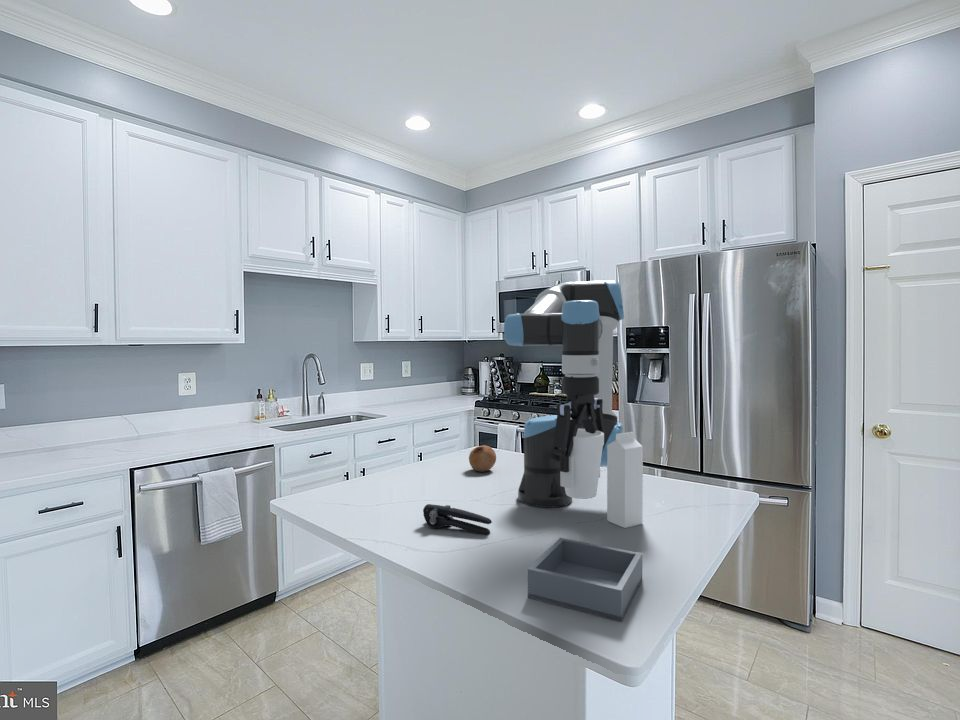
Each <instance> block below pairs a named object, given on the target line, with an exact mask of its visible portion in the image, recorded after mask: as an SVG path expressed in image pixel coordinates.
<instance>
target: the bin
mask: <svg viewBox="0 0 960 720" xmlns="http://www.w3.org/2000/svg"><path fill="white" fill-rule="evenodd" d="M642 581H643V553H642V552H636V551H633V550H632V551H631V550H626V549H622V548H618V547H617V548H616V547H611V546H605V545H601V544H594V543H592V542H591V543H589V542H584V541H578V540H575V539H568V538H564V537H563V538H562V537H559V538H558V539H557V540H556V541H555V542H554V543H553V544H552V545H551V546H550V547H549V548H548V549H547V550H546V551H545V552H544V553H543V554H541V555H540V556H539V558H538V559H536V560H535V561H534V562H533V563H532V564H531V565H530V566H529V567H528V568H527V598H528V599H531V600H536V601H539V602H543V603H546V604H547V603H548V604H551V605H556V606H558V607H561V608H566V609H570V610H572V611H573V610H574V611H578V612H582V613H585V614H588V615H589V614H590V615H593V616H597V617H600V618H604V619H605V618H606V619H609V620H612V621H616V622H621V623H622V621H623V619H624V617H625V615H626V613H627V611H628V610H629V607H630V605H631V603H632V601H633V600H634V597H635V596H636V593H638V590H639V588H640V586H641V583H642Z"/></svg>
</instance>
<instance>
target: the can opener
mask: <svg viewBox="0 0 960 720" xmlns="http://www.w3.org/2000/svg"><path fill="white" fill-rule="evenodd" d="M422 513H423V518H424V521H425V523H426V525H428V526H429V527H430V528H431V529H432V528H433V529H440V528H444V527H455V528H458V529H461V530H464V531H467V532H470V533H473V534H478V535H489V534H490V533H491V530H490V529H489V528H487V527H485V526H484V527H483V526H480V525H477V524H475V523H471V522H467V521H472V522H476V523H480V524H485V525H490V524H492V523H493V521H492V519H490V518H489V517H487V516H483V515H481V514H478V513H474V512H471V511H467V510H464V509H461V508H455V507H451V505H450V504H446V505H440V504H431V503H428V504H426V505H424V507H423V509H422ZM459 519H462V520H459ZM464 520H466V521H464Z"/></svg>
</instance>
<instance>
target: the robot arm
mask: <svg viewBox="0 0 960 720" xmlns="http://www.w3.org/2000/svg"><path fill="white" fill-rule="evenodd" d="M624 313H625V312H624V306H623V297H622V290H621V284H620V282H618V281H617V280H611V279H610V280H607V279H606V280H605V279H602V280H588V281H587V280H585V281H567V282H565V281H564V282H561V283H557V284H555V285H553V286H552V285H551V286H550V287H548V288H546V289H544V290H543V291H541V292H540V293H539V294H538V295H537V297H536V298H535V300H534V303H533V304H532V305H531V306H530V307H529V308H527V310H525V312H524V313H519V312H517V313H512V314H507V316H506V317H505V319H504V322H503V334H504V341H505V342H506V344H507V345H509V346H515V347H517V346H518V347H520V348H521V347H534V346H535V347H536V346H537V347H539V346H540V347H541V346H543V347H544V346H545V347H546V346H548V347H549V346H553V347H554V346H556V347H558V346H559V347H561V346H562V352H561V354H562V355H561V373H562V374H563V376H562V378H561V382H562V383H561V384H562V385H561V386H562V387H561V389H562V390H561V392H562V394H564V395H566V400H565V403H564V404H562V403H561V404H560V403H558V404H557V405H556V414H554V415H553V414H552V415H544V416H537V417H533V418H530V419H528V420H527V421H526V422H525V423H524V429H523V435H522V436H523V437H522V438H523V468H524V469H523V474H522V477H521V479H520V480H521V481H520V484H519V487H518V489H517V490H518V491H517V499H518V501H519V502H520V503H522V504H523V505H524V504H525V505H528V506H531V507H538V508H557V507H558V508H560V507H563V506H567V505H569V504H571V503H572V502H573V498H572V497H569V496H567V495H566V491H565V487H566V488H570V489H572V488H574V456H571V452H572V448H573V437H576V434H577V430H578V429H585V431H586V432H589V433H591V434H593V433H595V431H601V432H603V433H604V445H603V449H602V456H601V464H600V467H607V445H608V444H610V443H612V442H613V441H615V440H616V434H619V433H623V430H624V425H623V423H621V422H618V419H619V418H618V415H617V414H616V413H615V412H614V411H613V374H614V373H613V371H614V370H613V369H614V368H613V366H614V365H613V363H614V359H613V358H614V357H613V356H614V331H615V330H616V329H617V328H618V327H619V326H620V323H619V322H620V321H621V320H624V318H625V316H624V315H625V314H624ZM566 448H567V450H566ZM600 478H601V470H600V471H599V479H600Z"/></svg>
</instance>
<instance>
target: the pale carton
mask: <svg viewBox="0 0 960 720" xmlns="http://www.w3.org/2000/svg"><path fill="white" fill-rule="evenodd" d="M643 456H644V448H643V445H642V444H641V443H640V442H639V441H638V440H637V439H636V438H635V433H634V431H627V432H622V433H619V434H616V440H615V441H613V442H612V443H610V444H608V445H607V466H606V467H607V469H606V471H607V473H606V475H607V477H606V478H607V481H606V482H607V483H606V486H607V487H606V489H607V490H606V497H607V499H606V504H607V505H606V506H607V507H606V511H607V512H606V513H607V514H606V521H607V522H610V523H611V524H615V525H617V526H619V527H621V528H624V529H626V528H630V527H634V526H635V527H636V526H639V525H642V524H643V522H644V520H643V519H644V518H643V514H644V513H643V511H644V509H643V507H644V506H643V504H644V503H643V497H644V496H643V495H644V492H643V491H644V490H643V488H644V487H643V486H644V485H643V484H644V480H643V478H644V477H643V476H644V472H643V471H644V469H643V467H644V463H643V460H644V457H643Z"/></svg>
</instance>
